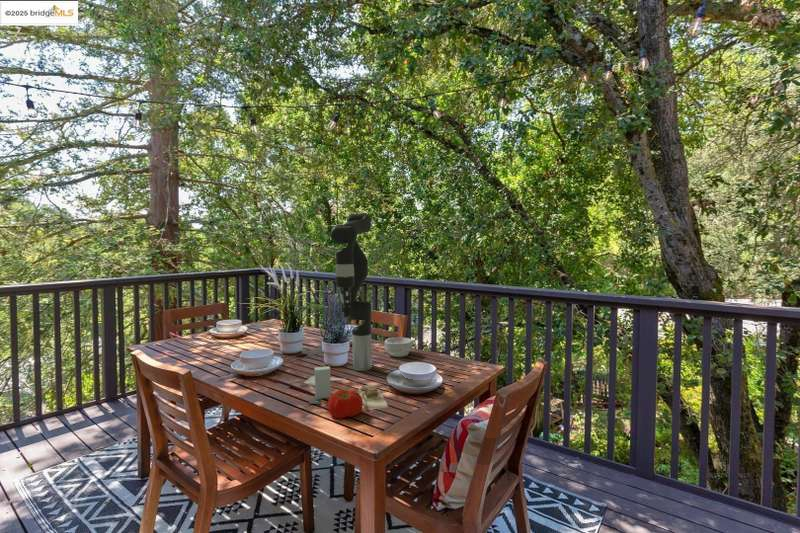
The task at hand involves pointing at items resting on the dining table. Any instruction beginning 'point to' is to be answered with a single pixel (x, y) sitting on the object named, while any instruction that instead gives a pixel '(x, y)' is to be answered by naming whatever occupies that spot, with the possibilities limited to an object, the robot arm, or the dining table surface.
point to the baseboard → (312, 380)
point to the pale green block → (322, 382)
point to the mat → (315, 401)
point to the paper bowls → (398, 346)
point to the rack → (373, 401)
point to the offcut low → (370, 394)
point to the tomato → (345, 404)
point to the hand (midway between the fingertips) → (345, 314)
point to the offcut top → (370, 389)
